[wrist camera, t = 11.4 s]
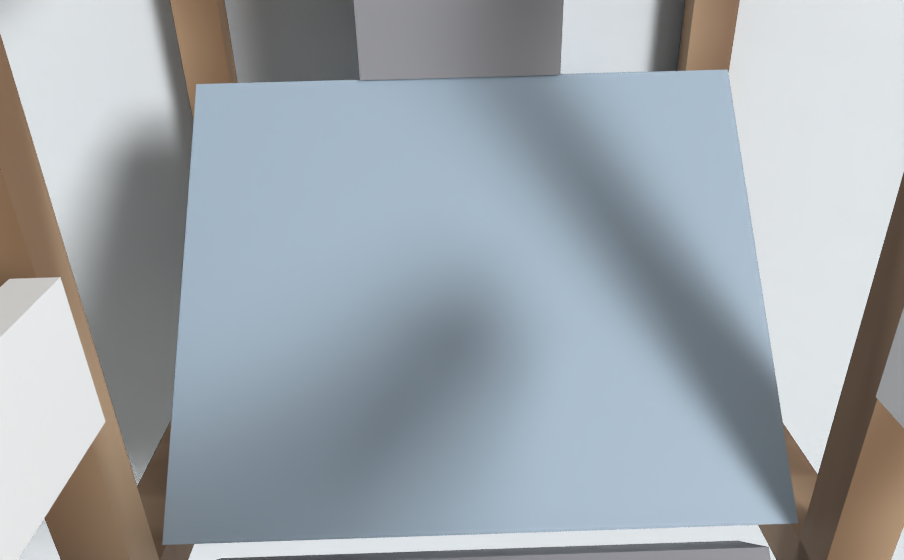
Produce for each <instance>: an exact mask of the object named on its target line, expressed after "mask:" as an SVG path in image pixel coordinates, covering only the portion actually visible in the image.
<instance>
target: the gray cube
mask: <svg viewBox="0 0 904 560" xmlns="http://www.w3.org/2000/svg"><path fill="white" fill-rule="evenodd" d="M353 1H354V13H355V26H356V38H357V50H358V63H359V75H360V80H397V79H433V78H469V77H505V76H541V75H560V66H561V44H562V22H563V1H564V0H353Z"/></svg>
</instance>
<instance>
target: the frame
mask: <svg viewBox="0 0 904 560" xmlns="http://www.w3.org/2000/svg"><path fill="white" fill-rule="evenodd" d="M739 1H740V0H685V8H684V17H683V25H682V33H681V41H680V50H679V58H678V66H677V71H693V70H728V72H729V66H730V59H731V53H732V46H733V40H734V33H735V27H736V20H737V14H738V7H739ZM170 3H171V8H172V13H173V18H174V23H175V29H176V34H177V39H178V44H179V49H180V54H181V60H182V65H183V70H184V75H185V80H186V86H187V91H188V96H189V101H190V106H191V112H192V117H193V122H194V110H195V96H196V84H221V83H237V77H236V70H235V64H234V58H233V52H232V45H231V39H230V33H229V27H228V20H227V14H226V8H225V1H224V0H170ZM52 277H61V281H62V284H63V287H64V290H65V293H66V297H67V300H68V303H69V306H70V309H71V313H72V316H73V319H74V322H75V325H76V329H77V332H78V335H79V338H80V341H81V345H82V348H83V351H84V354H85V357H86V361H87V364H88V367H89V370H90V373H91V377H92V380H93V383H94V386H95V390H96V393H97V396H98V399H99V402H100V406H101V409H102V412H103V415H104V418H105V423H104V425H103V426H102V428H101V430H100V431H99V433H98V434H97V436H96V437H95V439H94V441H93V442H92V444H91V445H90V447H89V448H88V450H87V452H86V453H85V455H84V456H83V458H82V460H81V461H80V463H79V464H78V466H77V467H76V469H75V471H74V472H73V474H72V475H71V477H70V478H69V480H68V482H67V483H66V485H65V486H64V488H63V489H62V491H61V493H60V494H59V496H58V497H57V499H56V501H55V502H54V504H53V505H52V507H51V508H50V510H49V512H48V513H47V515H46V516H45V521H46V523H47V526H48V528H49V531H50V534H51V536H52V539H53V541H54V544H55V546H56V549H57V551H58V554H59V556H60V559H61V560H188V559H189V556H190V553H191V551H192V548H193V545H194V544H173V545H162V542H163V529H164V515H165V502H166V488H167V475H168V461H169V448H170V434H171V421H172V419H171V421H170V423H169V425H168V427H167V429H166V431H165V433H164V435H163V437H162V439H161V441H160V443H159V445H158V447H157V448H156V450H155V452H154V454H153V456H152V458H151V460H150V462H149V464H148V466H147V468H146V470H145V472H144V474H143V476H142V478H141V480H140V482H139V484H138V486H137V485H136V481H135V478H134V475H133V472H132V468H131V465H130V462H129V458H128V455H127V452H126V448H125V445H124V442H123V438H122V435H121V432H120V429H119V425H118V422H117V419H116V415H115V412H114V409H113V405H112V402H111V399H110V395H109V392H108V389H107V386H106V382H105V379H104V376H103V372H102V369H101V366H100V362H99V359H98V356H97V352H96V349H95V346H94V342H93V339H92V336H91V333H90V329H89V326H88V323H87V319H86V316H85V313H84V309H83V306H82V303H81V299H80V296H79V293H78V290H77V286H76V283H75V280H74V276H73V273H72V270H71V266H70V263H69V260H68V256H67V253H66V250H65V247H64V243H63V240H62V237H61V233H60V230H59V227H58V223H57V220H56V217H55V213H54V210H53V207H52V204H51V200H50V197H49V194H48V190H47V187H46V184H45V180H44V177H43V174H42V170H41V167H40V164H39V161H38V157H37V154H36V151H35V147H34V144H33V141H32V137H31V134H30V131H29V127H28V124H27V121H26V117H25V114H24V111H23V108H22V104H21V101H20V98H19V94H18V91H17V88H16V84H15V81H14V78H13V74H12V71H11V68H10V65H9V61H8V58H7V55H6V51H5V48H4V45H3V41H2V38H1V35H0V287H1V286H2V285H3V284H4V283H5V282H7V281H8V280H9V279H19V278H52ZM903 308H904V173H903V177H902V180H901V184H900V187H899V191H898V194H897V198H896V201H895V205H894V209H893V212H892V216H891V219H890V223H889V226H888V230H887V233H886V237H885V240H884V244H883V247H882V251H881V254H880V258H879V261H878V265H877V268H876V272H875V275H874V279H873V282H872V286H871V289H870V293H869V297H868V300H867V304H866V307H865V311H864V314H863V318H862V321H861V325H860V328H859V332H858V335H857V339H856V342H855V346H854V349H853V353H852V356H851V360H850V363H849V367H848V370H847V374H846V377H845V381H844V385H843V388H842V392H841V395H840V399H839V402H838V406H837V409H836V413H835V416H834V420H833V423H832V427H831V430H830V434H829V437H828V441H827V444H826V448H825V451H824V455H823V458H822V462H821V465H820V469H819V473H818V474H817V473H816V471H815V470H814V468H813V467H812V466H811V464H810V463H809V461H808V460H807V458H806V457H805V455H804V454H803V452H802V451H801V449H800V448H799V446H798V445H797V443H796V442H795V440H794V439H793V437H792V436H791V434H790V433H789V431H788V430H787V428H786V427H785V425H784V424H783V428H784V435H785V441H786V448H787V454H788V461H789V467H790V473H791V480H792V486H793V493H794V499H795V506H796V512H797V518H798V523H793V524H764V525H758V526H759V528H760V529H761V531H762V533H763V535H764V537H765V539H766V541H767V543H768V545H769V547H770V549H771V550H772V552H773V554H774V556H775V558H776V560H891V558H892V556H893V553H894V550H895V548H896V545H897V542H898V540H899V537H900V534H901V532H902V529H903V526H904V428H903V427H902V426H901V425H900V423H899V422H898V421H897V420H896V419H895V418H894V417H893V416H892V414H891V413H890V412H889V411H888V410H887V409H886V408H885V407H884V406H883V404H882V403H881V402H880V401H879V400H878V399H877V398H876V394H877V391H878V388H879V385H880V381H881V378H882V375H883V372H884V369H885V366H886V362H887V359H888V356H889V353H890V350H891V346H892V343H893V340H894V337H895V334H896V330H897V327H898V324H899V321H900V318H901V314H902V311H903Z"/></svg>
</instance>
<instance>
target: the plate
mask: <svg viewBox="0 0 904 560" xmlns="http://www.w3.org/2000/svg"><path fill="white" fill-rule="evenodd" d="M793 523H798V518H797V512H796V506H795V499H794V493H793V486H792V480H791V473H790V467H789V461H788V454H787V448H786V441H785V435H784V428H783V422H782V416H781V409H780V403H779V396H778V390H777V383H776V377H775V371H774V364H773V358H772V351H771V345H770V338H769V332H768V325H767V319H766V313H765V306H764V300H763V293H762V287H761V280H760V274H759V268H758V261H757V255H756V248H755V242H754V235H753V229H752V223H751V216H750V210H749V203H748V197H747V190H746V184H745V177H744V171H743V165H742V158H741V152H740V145H739V139H738V132H737V126H736V120H735V113H734V107H733V100H732V94H731V87H730V81H729V75H728V70H693V71H657V72H621V73H584V74H560V75H541V76H505V77H469V78H433V79H397V80H330V81H294V82H257V83H221V84H196V96H195V110H194V123H193V137H192V150H191V164H190V177H189V191H188V204H187V218H186V231H185V245H184V258H183V272H182V286H181V299H180V313H179V326H178V340H177V353H176V367H175V380H174V394H173V407H172V421H171V434H170V448H169V461H168V475H167V488H166V502H165V515H164V529H163V542H162V545H173V544H202V543H232V542H261V541H291V540H320V539H350V538H380V537H409V536H439V535H468V534H498V533H527V532H557V531H586V530H616V529H645V528H675V527H705V526H734V525H764V524H793ZM218 560H770V553H769V547H766V546H761V545H756V544H751V543H746V542H741V541H716V542H687V543H657V544H628V545H598V546H569V547H540V548H510V549H481V550H452V551H422V552H393V553H364V554H334V555H305V556H275V557H246V558H221V559H218Z"/></svg>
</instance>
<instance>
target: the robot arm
mask: <svg viewBox="0 0 904 560" xmlns="http://www.w3.org/2000/svg"><path fill="white" fill-rule="evenodd" d="M876 398H877V399H878V400H879V401H880V402H881V403H882V404H883V406H884V407H885V408H886V409H887V410H888V411H889V412H890V413H891V414H892V416H893V417H894V418H895V419H896V420H897V421H898V422H899V423H900V425H901V426H902V427H903V428H904V308H903V311H902V314H901V318H900V321H899V324H898V327H897V330H896V334H895V337H894V340H893V343H892V346H891V350H890V353H889V356H888V359H887V362H886V366H885V369H884V372H883V375H882V378H881V381H880V385H879V388H878V391H877V394H876ZM104 423H105V418H104V415H103V412H102V409H101V406H100V402H99V399H98V396H97V393H96V390H95V386H94V383H93V380H92V377H91V373H90V370H89V367H88V364H87V361H86V357H85V354H84V351H83V348H82V345H81V341H80V338H79V335H78V332H77V329H76V325H75V322H74V319H73V316H72V313H71V309H70V306H69V303H68V300H67V297H66V293H65V290H64V287H63V284H62V281H61V277H52V278H19V279H9V280H8V281H7V282H5V283H4V284H3V285H2V286H1V287H0V560H18V559H19V557H20V556H21V554H22V553H23V551H24V549H25V548H26V546H27V545H28V543H29V542H30V540H31V538H32V537H33V535H34V534H35V532H36V530H37V529H38V527H39V526H40V524H41V523H42V521H43V519H44V518H45V516H46V515H47V513H48V512H49V510H50V508H51V507H52V505H53V504H54V502H55V501H56V499H57V497H58V496H59V494H60V493H61V491H62V489H63V488H64V486H65V485H66V483H67V482H68V480H69V478H70V477H71V475H72V474H73V472H74V471H75V469H76V467H77V466H78V464H79V463H80V461H81V460H82V458H83V456H84V455H85V453H86V452H87V450H88V448H89V447H90V445H91V444H92V442H93V441H94V439H95V437H96V436H97V434H98V433H99V431H100V430H101V428H102V426H103V425H104Z"/></svg>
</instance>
